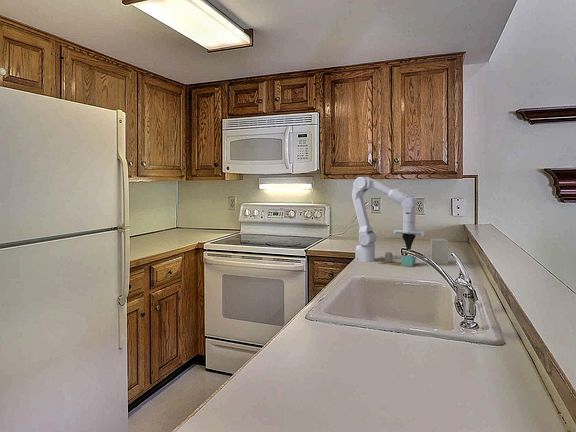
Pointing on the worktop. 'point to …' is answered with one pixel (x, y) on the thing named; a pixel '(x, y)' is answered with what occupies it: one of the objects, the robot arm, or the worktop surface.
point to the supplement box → (439, 251)
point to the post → (388, 257)
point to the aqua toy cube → (408, 260)
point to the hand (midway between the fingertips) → (408, 249)
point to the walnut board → (396, 264)
